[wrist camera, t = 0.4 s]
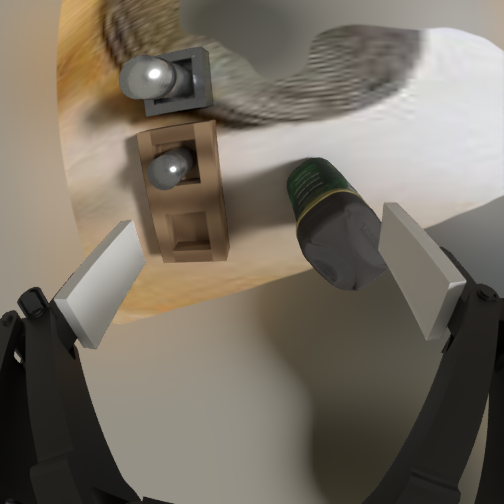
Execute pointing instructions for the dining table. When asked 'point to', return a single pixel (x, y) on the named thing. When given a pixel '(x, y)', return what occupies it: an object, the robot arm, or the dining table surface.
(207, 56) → the socket block
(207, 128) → the rack
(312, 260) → the coffee jar
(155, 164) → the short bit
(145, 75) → the grey metal cylinder
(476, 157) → the dining table surface
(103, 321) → the robot arm
